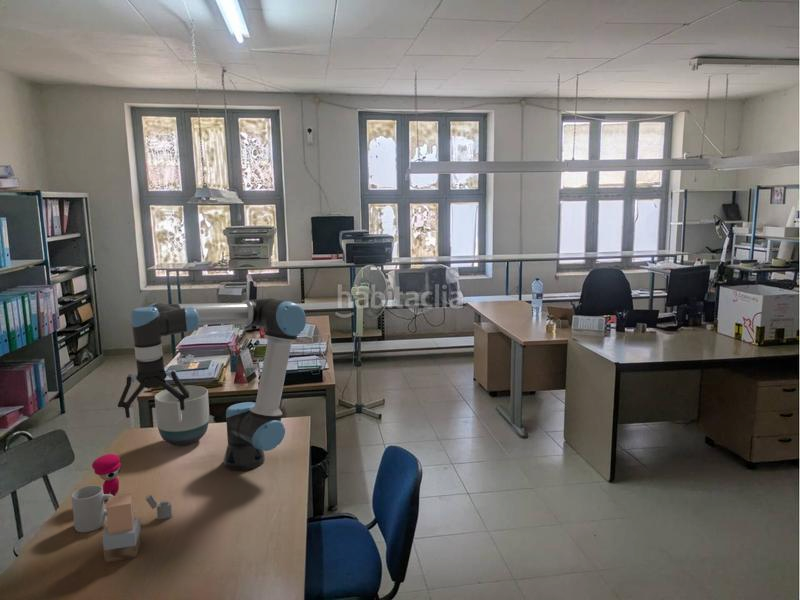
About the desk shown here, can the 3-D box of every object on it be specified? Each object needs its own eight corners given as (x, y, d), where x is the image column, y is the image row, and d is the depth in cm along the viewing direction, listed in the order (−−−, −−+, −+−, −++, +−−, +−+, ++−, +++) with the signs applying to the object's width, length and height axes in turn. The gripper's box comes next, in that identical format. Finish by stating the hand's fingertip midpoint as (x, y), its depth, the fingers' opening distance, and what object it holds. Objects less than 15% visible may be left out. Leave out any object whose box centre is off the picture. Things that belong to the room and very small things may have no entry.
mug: (70, 534, 163) (67, 501, 161) (79, 519, 171) (76, 486, 170) (114, 529, 166) (111, 495, 164) (121, 514, 174) (118, 482, 172)
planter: (151, 442, 228) (147, 393, 224) (198, 428, 241) (195, 382, 238) (169, 458, 213) (165, 406, 209) (219, 443, 227) (216, 394, 223)
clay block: (134, 518, 158) (132, 493, 157) (132, 529, 153) (130, 503, 151) (111, 522, 156) (108, 497, 154) (108, 534, 150) (106, 507, 149)
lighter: (172, 514, 174) (170, 491, 173) (171, 517, 172) (169, 494, 171) (148, 518, 172) (146, 494, 171) (147, 521, 170) (145, 497, 169)
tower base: (141, 541, 160) (140, 529, 160) (136, 557, 153) (135, 545, 152) (111, 546, 158) (109, 533, 157) (104, 563, 151) (103, 550, 150)
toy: (111, 505, 179) (107, 462, 177) (89, 502, 181) (85, 460, 178) (129, 492, 188) (125, 451, 185) (108, 489, 189) (104, 449, 187)
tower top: (140, 529, 159) (139, 517, 159) (135, 545, 152) (134, 532, 151) (110, 533, 157) (109, 521, 157) (103, 550, 150) (102, 537, 149)
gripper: (193, 350, 173) (199, 412, 177) (106, 359, 165) (114, 424, 169) (192, 356, 166) (199, 421, 170) (101, 366, 158) (110, 434, 162)
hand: (157, 423), depth 170 cm, fingers open, 13 cm apart
